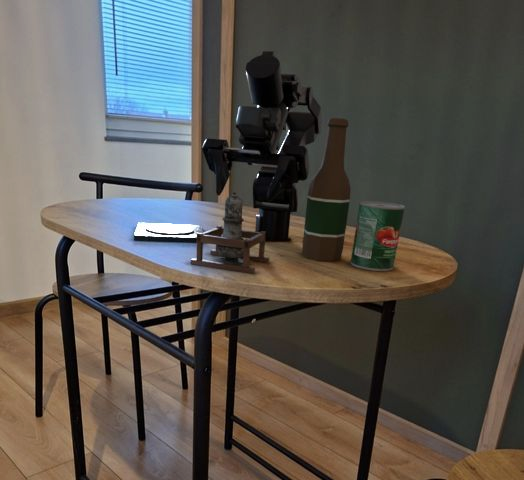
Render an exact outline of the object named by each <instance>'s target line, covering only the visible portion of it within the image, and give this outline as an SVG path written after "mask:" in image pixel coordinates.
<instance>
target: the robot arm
mask: <svg viewBox="0 0 524 480" xmlns="http://www.w3.org/2000/svg"><path fill="white" fill-rule="evenodd" d="M281 70H282V69H281V62H280V60H279V58H277V57H276V56H275V51H273V50H272V51H271V50H263V51H262V53H261V55H258V56H255V57H253V58H251V59H250V60H249V61H247V62H246V64H245V72H246V73H245V74H246V78H247V84H248V88H249V93H250V98H251V103H252V105H256V106H251V105H250V106H249V105H248V106H247V105H241V106H239V107H238V110H237V115H236V119H235V126H234V127H235V129H237V130H238V132H239V137H238V143H239V145H242V148H241V147H240V148H239V147H230V145H229V142H228V139H221V138H210V137H208V138H206V139H205V140H204V141H203V144H202V146H201V150H202V154H203V157H204V159H205V162H206V164H207V167H208V169H209V170H210V172H212V173H213V174H214V175H215V193H216V195H217V196H218V197H220V196H221V194H222V193H223V191H224V189H225V187H226V185H227V183H228V180H229V179H230V176H231V174H230V171H231V170H232V167H233V162H234V163H245V164H247V165H248V166H256V167H260V169H259V170H258V174H257V176H256V178H254V180H253V183H252V205H253V207H252V208H253V209H255V210H256V209H258V214H256V216H255V230H254V232H261V231H263V232H266V237H265V242H267V241H268V242H269V241H272V242H273V241H279V242H280V241H283V242H286V241H287V242H289V241H292V238H291V237H289V235H290V234H289V233H290V223H291V213H297V212H298V206H299V201H298V189H297V187H296V184H298V183H299V181H303V182H304V181H306V180H308V177H309V174H310V158H309V150H308V148H307V145H310V144H313V143H315V141H316V140H317V138H318V136H319V135H320V134H321V131H322V125H323V119H322V118H323V117H322V107H321V105H320V104H319V102H318V101H317V100H316V98H315V96H314V92H313V91H314V90H313V87H312V86H310V85H308V84H302V83H301V79H300V78H299V76H298V75H297V73H291V72H288V73H287V72H282V71H281ZM297 106H301V107H302V106H306V107H307V110H308V111H303V110H301V111H300V110H291V109H294V108H296V107H297ZM283 131H285V137H284V138H285V139H284V140H283V143H282V145H281V144H280V139H281V136H282V134H283ZM280 146H281V147H280ZM276 151H278V153H276Z"/></svg>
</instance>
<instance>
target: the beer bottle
mask: <svg viewBox="0 0 524 480" xmlns="http://www.w3.org/2000/svg"><path fill="white" fill-rule="evenodd" d="M349 125H350V124H349V120H348V119H346V118H341V117H329V118H328V120H327V122H326V126H327V132H326V136H325V143H324V148H323V154H322V160H321V162H320V163H321V164H320V166H319V169H318V170H317V171H316V172H315V174H314V175H313V176H312V179H311V181H310V183H309V186H308V192H307V197H306V208H305V217H304V228H303V237H302V248H301V249H302V250H301V251H302V252H301V253H302V255H303V256H304V257H305V258H306V259H309V260H313V261H318V262H335V261H339V260H341V259H342V257H343V250H344V246H345V245H344V244H345V237H346V230H347V224H348V217H349V207H350V201H351V183H350V179H349V177H348V175H347V173H346V171H345V155H346V154H345V152H346V140H347V129H348V127H349Z"/></svg>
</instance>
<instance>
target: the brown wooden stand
mask: <svg viewBox="0 0 524 480" xmlns="http://www.w3.org/2000/svg"><path fill="white" fill-rule="evenodd" d="M223 232H224V226H223V225H217V226H216V227H213V228H211V229H208V230H206V231H203V233H197V243H196V258H193V257H192V258H191V259H190V265H195V266H201V267H207V268H215V269H221V270H227V271H233V272H238V273H239V272H240V273H246V274H247V273H248V274H255V272H256V271H255V269H256V267H253V266H250V261H251V262H252V261H253V262H259V263H265V264H268V263H270V257H268V256H265V250H266V249H265V248H266V241H265V237H266V232H263V231H261V232H255V230H245V229H242V238H243V239H244V240H240V239H232V238H225V237H222V235H223ZM204 244H210V245H215V249H213V248H212V249H211V250H210V253H209V254H210V255H211V256H217V257H222V256H221V255H220V253H219V252H218V250H217V245H222V246H230V247H237V248H244V255H243V256H242V257H239V258H240V259H243V266H241V265H234V264H228V263H221V262H216V260H214V261H213V260H208V259H203V258H204V257H203V255H204V253H203V252H204ZM258 244H259V245H258ZM257 245H258V255H255V254H251V253H250V252H251V248H253V247H255V246H257Z"/></svg>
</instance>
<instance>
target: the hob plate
mask: <svg viewBox="0 0 524 480" xmlns="http://www.w3.org/2000/svg"><path fill="white" fill-rule="evenodd" d="M203 232H204V228H203V226H202V225H199V224H198V225H197V224H175V223H174V224H173V223H152V222H151V223H149V222H138V223H137V225H136V227H135V230H134V234H133V241H140V242H141V241H142V242H166V243H167V242H170V243H196V244H197V233H203Z"/></svg>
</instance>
